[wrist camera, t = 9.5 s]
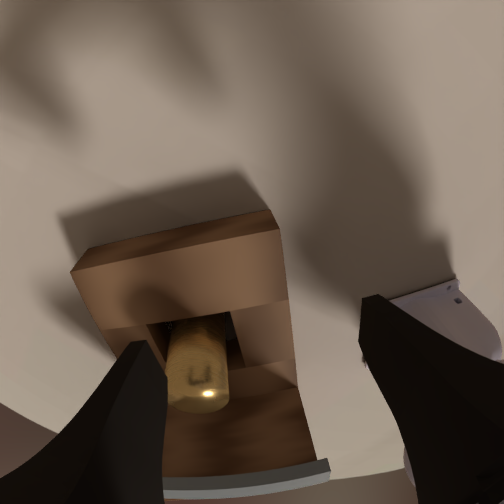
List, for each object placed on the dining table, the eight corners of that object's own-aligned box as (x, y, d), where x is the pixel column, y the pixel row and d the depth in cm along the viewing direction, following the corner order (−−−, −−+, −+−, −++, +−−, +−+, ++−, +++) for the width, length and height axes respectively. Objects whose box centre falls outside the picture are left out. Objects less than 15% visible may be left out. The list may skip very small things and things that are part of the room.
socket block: (278, 207, 17) (351, 339, 7) (297, 368, 24) (328, 480, 14) (82, 250, 17) (-3, 374, 7) (156, 389, 24) (144, 496, 14)
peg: (220, 293, 19) (223, 374, 13) (227, 332, 21) (233, 411, 15) (168, 299, 19) (153, 379, 13) (180, 337, 21) (172, 414, 15)
